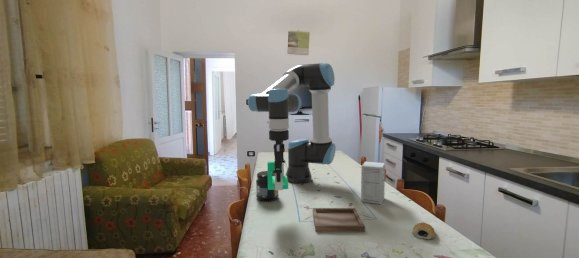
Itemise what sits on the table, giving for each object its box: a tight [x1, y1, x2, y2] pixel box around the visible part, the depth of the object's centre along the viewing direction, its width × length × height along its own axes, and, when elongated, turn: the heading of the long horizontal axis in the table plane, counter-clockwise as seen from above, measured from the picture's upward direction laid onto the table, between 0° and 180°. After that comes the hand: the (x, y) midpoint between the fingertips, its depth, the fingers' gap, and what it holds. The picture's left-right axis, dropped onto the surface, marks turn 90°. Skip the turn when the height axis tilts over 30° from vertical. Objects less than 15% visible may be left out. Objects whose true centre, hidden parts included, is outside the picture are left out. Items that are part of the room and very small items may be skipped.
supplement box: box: [360, 161, 386, 205], centre depth 130 cm, size 10×9×17 cm
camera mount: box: [266, 160, 289, 190], centre depth 110 cm, size 12×8×10 cm, turn 3°
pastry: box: [412, 221, 436, 240], centre depth 99 cm, size 9×7×4 cm
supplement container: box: [255, 170, 279, 202], centre depth 133 cm, size 10×10×12 cm
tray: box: [312, 207, 366, 233], centre depth 108 cm, size 16×17×2 cm
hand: (279, 184), depth 111 cm, fingers closed on camera mount, 12 cm apart
